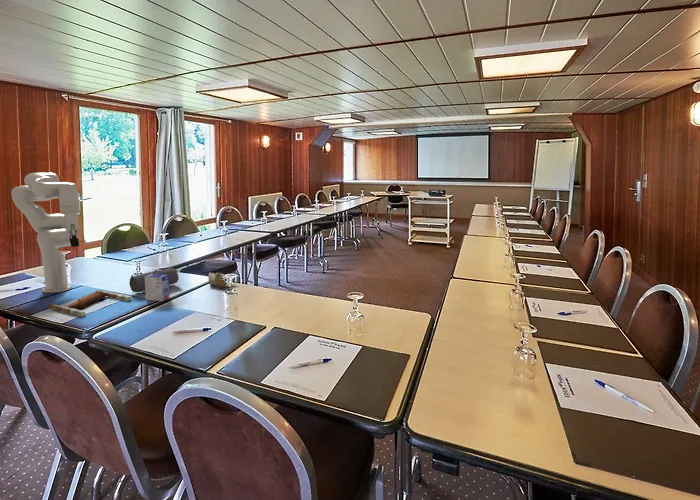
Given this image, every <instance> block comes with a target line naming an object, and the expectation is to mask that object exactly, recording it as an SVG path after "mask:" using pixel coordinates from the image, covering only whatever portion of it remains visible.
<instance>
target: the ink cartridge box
mask: <svg viewBox="0 0 700 500" xmlns="http://www.w3.org/2000/svg"><path fill="white" fill-rule="evenodd" d="M160 270H161V269H159V270H158V269H156V270H153V271H154V274H150V275H147V276H145V290H146V291H145V300H146V301H153V302H154V301H156V302H157V301H158V302H164V301H167V300H170V285H169V281H168V275H160V274H161V271H160ZM155 272H160V273H155Z"/></svg>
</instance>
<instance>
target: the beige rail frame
mask: <svg viewBox="0 0 700 500" xmlns="http://www.w3.org/2000/svg"><path fill="white" fill-rule="evenodd" d="M100 291H102V292H104V294H105V296H108V297H107V298H110V297H112V298H111V299H115V298H116V300H119V299H121V300H120V301H124V300H126V301H125V302H130V301H129V300H131V301H132V296H130V295H124V294H120V293H115V292H111V291H110V292H109V291H104V290H99V289H97V290H95V292H100ZM47 306H48V309H49V310H54V311H57V312H60V313H61V312H62V313H65V314H70V315H74V316H78V317H81V318H83V317H86V316H87V314H86V313H87V312H86V311H85V310H83V309H80V310H77V309H73V308H69V307H67V306H64V305H60V304H56V303H48V305H47Z"/></svg>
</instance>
